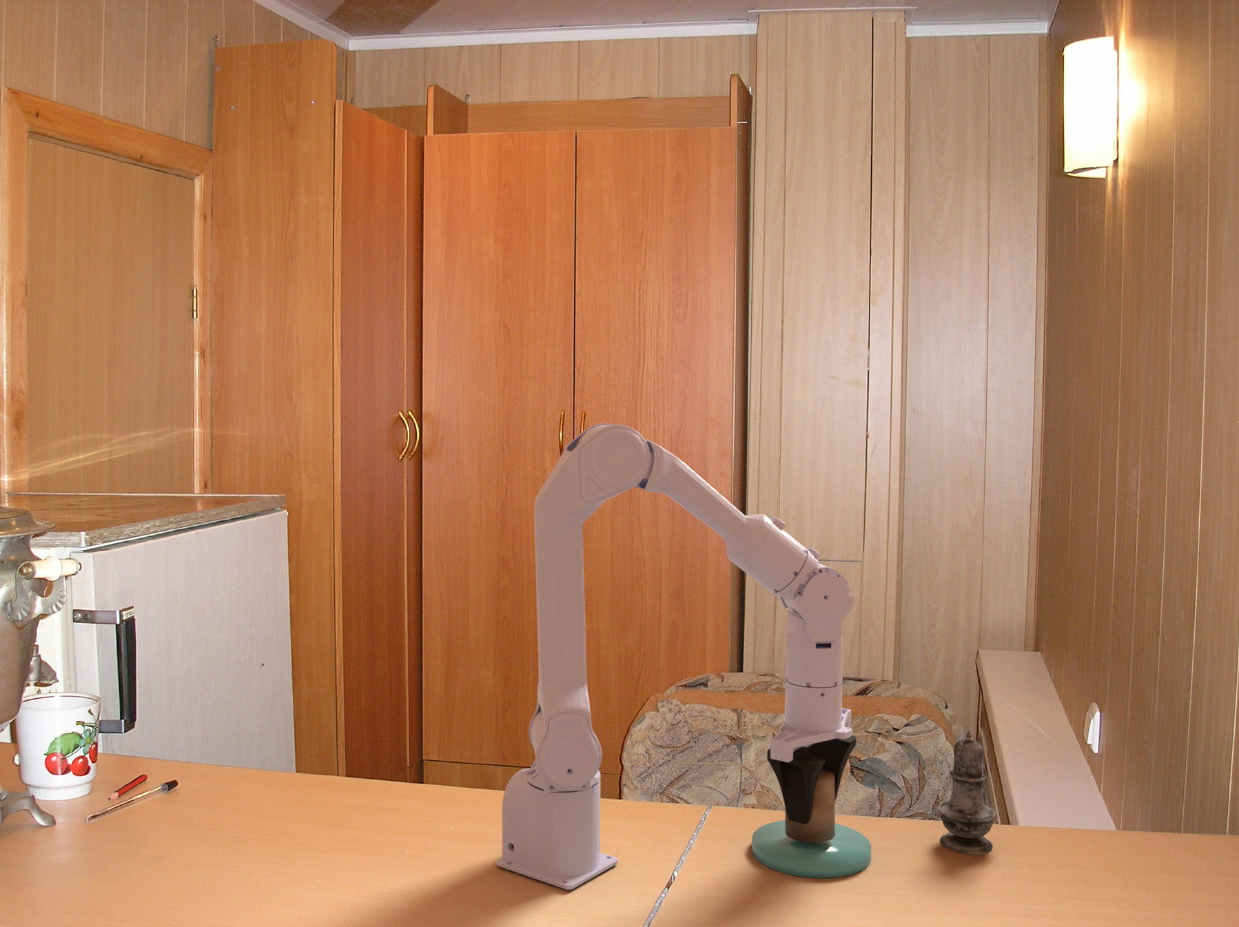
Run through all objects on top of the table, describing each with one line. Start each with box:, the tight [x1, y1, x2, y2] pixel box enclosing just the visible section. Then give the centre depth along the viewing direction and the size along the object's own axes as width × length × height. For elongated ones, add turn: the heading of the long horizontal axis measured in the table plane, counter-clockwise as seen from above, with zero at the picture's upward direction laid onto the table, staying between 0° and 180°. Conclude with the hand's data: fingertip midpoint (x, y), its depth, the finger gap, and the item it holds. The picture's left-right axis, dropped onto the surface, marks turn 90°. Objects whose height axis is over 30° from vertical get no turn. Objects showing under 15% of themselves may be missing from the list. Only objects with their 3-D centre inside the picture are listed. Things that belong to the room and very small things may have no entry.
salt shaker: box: [937, 730, 997, 855], centre depth 113 cm, size 6×6×12 cm
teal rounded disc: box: [751, 819, 872, 879], centre depth 111 cm, size 12×12×1 cm
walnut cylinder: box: [784, 769, 836, 843], centre depth 110 cm, size 5×5×6 cm
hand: (811, 812), depth 110 cm, fingers open, 5 cm apart
